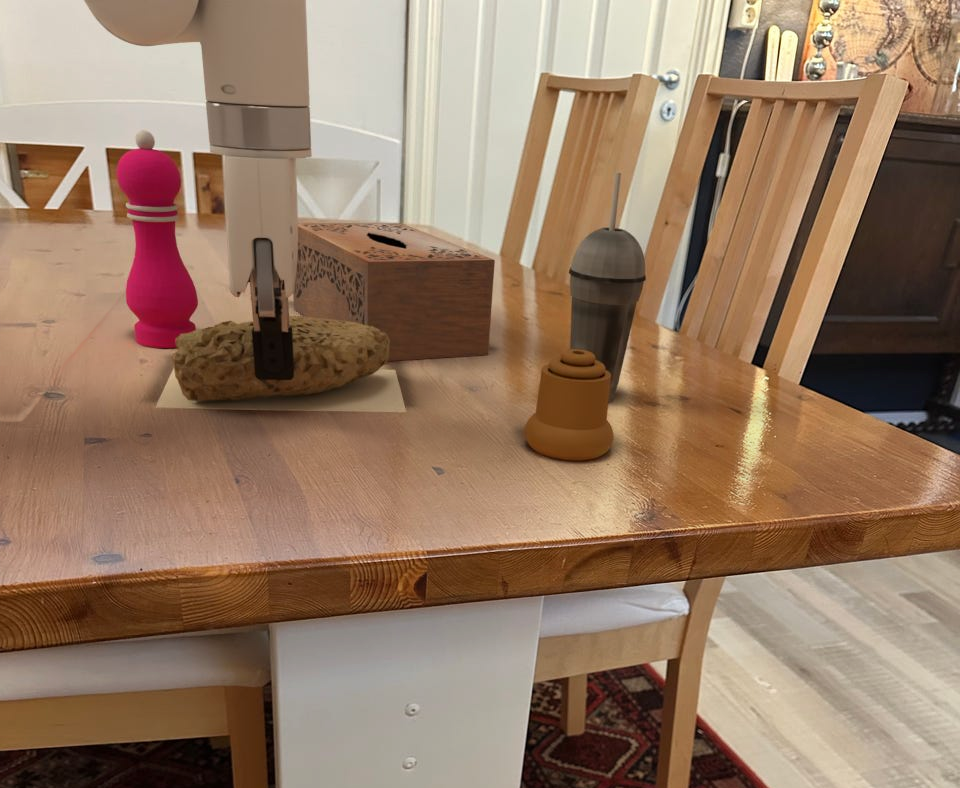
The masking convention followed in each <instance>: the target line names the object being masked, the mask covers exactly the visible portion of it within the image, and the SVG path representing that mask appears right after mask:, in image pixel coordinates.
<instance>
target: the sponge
mask: <svg viewBox="0 0 960 788" xmlns="http://www.w3.org/2000/svg"><path fill="white" fill-rule="evenodd" d="M288 327H292V335H293V355H294V377H293V379H291V380H259V379H257V378H256V377H255V368H254V354H253V341H252V330H253V320H251V321H246V322H245V321H244V322H240V323H236V322H234V321H232V320H227V321H221V322H220V323H217V324H215V325H213V326H208V327H204V328H200V329H197V328H196V330H195V331H192V332H189V333H182V334H180V336H179V337H177V338H176V341H175V343H176V346H177V348H176V349H178V350H177V351H176V352H174V353H173V354H172V357H171V358H172V364H173V369H174V370H175V377H176V378H177V380H178V383H179V385H180V388H181V391H182V394H183V395H184V396H185V397H186V398H187V399H188V400H192V401H211V400H224V401H227V400H230V399H232V400H243V399H248V398H255V397H259V398H263V397H270V396H273V395H276V396H289V395H307V394H315V393H319V392H323V391H328V390H331V389H337V388H339V387H342V386H343V385H346V384H348V383H350V382H352V381H355V380H357V379H361V378H364V377H367V376H369V375H370V374H373V373H375V372H376V371H378V370H379V369H381V368H382V367H383V366H385V365H386V364H387V363H388V362H389V361H388V359H389V348H390V340H389V338H388V335H387V334H386V333H385V332H380V330H379V329H377V328H375V327H373V326H367V325H363V324H360V323H356V322H349V321H340V320H333V319H325V318H313V317H305V316H303V315H289V326H288Z"/></svg>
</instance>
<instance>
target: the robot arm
mask: <svg viewBox="0 0 960 788" xmlns="http://www.w3.org/2000/svg"><path fill="white" fill-rule="evenodd" d="M83 2H84V3H85V4H86V6H87V8H88V10H89V11H90V13H91V14H92V15H93V17H94V18H95V20H96V21H97V22H98V23H99V24H100V25H101V26H102V28H104V29H105V30H106V31H107V32H108V33H109V34H110V35H113V36H114V37H115V38H117V39H119V40H121V41H123V42H125V43H127V44H130V45H134V46H140V47H155V46H163V45H173V44H184V43H185V44H186V43H199V44H200V47H201V60H202V69H203V82H204V93H205V101H206V102H205V109H206V110H205V111H206V119H207V120H206V121H207V131H208V132H207V133H208V142H209V152H210V153H211V154H213V155H214V154H215V155H220V156H223V157H224V159H223V161H224V163H223V164H224V165H223V166H224V167H223V186H224V190H223V191H224V209H225V210H224V211H225V227H226V228H225V229H226V243H227V260H228V282H229V283H228V284H229V292H230V294H231V295H232V296H233V297H235V298H240V297H241V294H242V293H245V292H246V290H247V287H248V285H249V291H250V301H251V313H252V321H253V330H252V341H253V354H254V368H255V377H256V378H257V379H259V380H291V379H293V377H294V355H293V335H292V327H288V326H289V316H290V307H289V303H290V302H289V298H290V297H291V296H293V292H294V287H295V280H296V271H297V256H298V223H299V212H298V211H299V208H298V183H297V182H298V181H297V180H298V179H297V159H306V158H312V129H311V126H312V125H311V108H310V77H309V75H310V73H309V50H308V49H309V48H308V47H309V46H308V45H309V44H308V21H307V20H308V19H307V18H308V17H307V0H83Z"/></svg>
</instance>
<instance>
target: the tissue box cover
mask: <svg viewBox="0 0 960 788" xmlns="http://www.w3.org/2000/svg"><path fill="white" fill-rule="evenodd" d="M495 262H496V260H495V259H493V258H491V257H488V256H486V255H483V254H481V253H478V252H475V251H474V250H470V249H468V248H465V247H462V246H460V245H458V244H455V243H452V242H450V241H447V240H446V239H442V238H440V237H437V236H435V235H433V234H430V233H428V232H424V231H422V230H419V229H417V228H415V227H412V226H409V225H407V224H404V223H401V222H400V223H399V222H298V256H297V271H296V280H295V287H294V292H293V294H292V297H293V299H292V300H293V309H294V310H295V311H296V312H298V313H299V314H301V316H304V317H313V318H325V319H333V320H340V321H349V322H356V323H360V324H363V325H367V326H373V327H375V328H377V329H379V330H380V332H385V333H386V334H387V335H388V338H389V340H390V348H389V359H388V361H387V362H396V361H409V360H410V361H411V360H426V359H443V358H444V359H446V358H461V357H476V356H489V350H490V349H489V347H490V335H491V333H490V332H491V321H492V304H493V294H494V293H493V291H494V277H495Z"/></svg>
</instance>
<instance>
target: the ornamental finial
mask: <svg viewBox="0 0 960 788" xmlns="http://www.w3.org/2000/svg"><path fill="white" fill-rule="evenodd" d="M595 359H596V358H595V355H594V354H593V353H591V352H589V351H585V350H579V349H570V348H569V349H565V350H563V351H562V352H561V353H560V356H556V357H553V358H551V359H550V360H549V362H548V364H545V365H543V366H542V367H541V371H540V379H539V385H538V391H537V392H538V393H537V394H538V395H537V401H536V407H535V412H534V413H533V414H532V415H531V416H530V417H529V418H528V420H527V422H526V424H525V428H524V435H525V439H526V442H527V444H528V445H529V447H530V448H531V449H533V450H534V451H535V452H537V453H538V454H540V455H542V456H544V457H548V458H551V459H556V460H561V461H562V460H563V461H571V462H572V461H573V462H575V461H576V462H577V461H578V462H580V461H589V460H594V459H598V458H600V457H601V456H604V454H606V453H607V452H608V451H609V449H610V448H611V446H612V445H613V441H614V430H613V426H612V424H611V423H610V421H609V420H608V413H609V412H608V411H609V403H610V402H609V391H610V381H611V374H610V372H608V371H607V370H605V366H604V364H603V363H601V362H599V361H597V360H595Z"/></svg>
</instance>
